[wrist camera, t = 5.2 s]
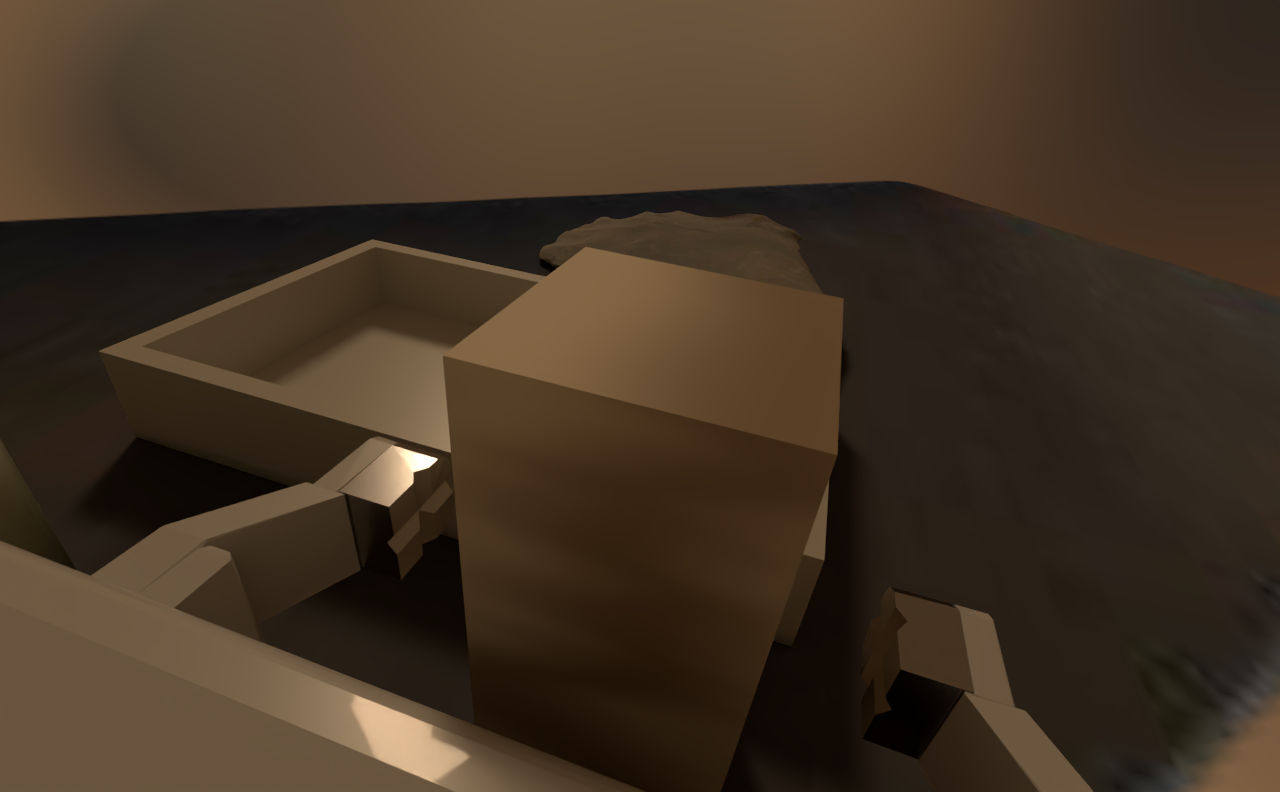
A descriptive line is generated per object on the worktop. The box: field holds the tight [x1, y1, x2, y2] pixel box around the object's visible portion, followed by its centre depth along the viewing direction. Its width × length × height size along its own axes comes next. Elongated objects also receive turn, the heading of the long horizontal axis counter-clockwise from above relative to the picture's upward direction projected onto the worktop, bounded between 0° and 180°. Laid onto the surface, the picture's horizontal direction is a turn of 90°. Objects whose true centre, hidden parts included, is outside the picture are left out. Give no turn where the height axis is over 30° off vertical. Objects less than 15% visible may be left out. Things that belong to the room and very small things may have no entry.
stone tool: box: [539, 211, 823, 294], centre depth 38 cm, size 20×3×25 cm
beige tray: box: [99, 240, 829, 647], centre depth 24 cm, size 24×14×4 cm, turn 73°
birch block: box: [443, 247, 843, 792], centre depth 11 cm, size 4×4×11 cm
